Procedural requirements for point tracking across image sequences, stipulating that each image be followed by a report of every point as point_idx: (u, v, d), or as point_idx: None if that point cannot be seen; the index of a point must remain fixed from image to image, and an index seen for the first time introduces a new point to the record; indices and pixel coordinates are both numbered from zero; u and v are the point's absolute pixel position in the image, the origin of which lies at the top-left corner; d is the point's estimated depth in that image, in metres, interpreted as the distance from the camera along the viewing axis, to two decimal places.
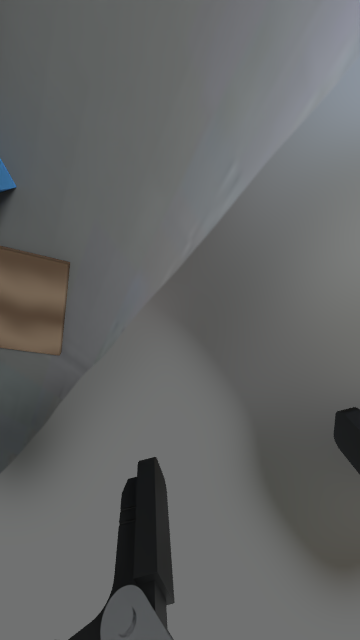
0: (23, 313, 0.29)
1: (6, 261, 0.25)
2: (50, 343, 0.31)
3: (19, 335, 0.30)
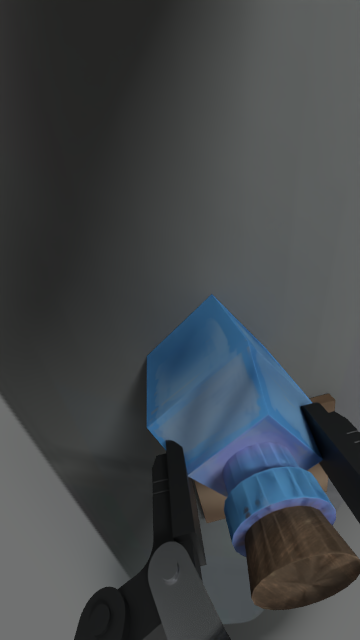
0: None
1: None
2: None
3: None
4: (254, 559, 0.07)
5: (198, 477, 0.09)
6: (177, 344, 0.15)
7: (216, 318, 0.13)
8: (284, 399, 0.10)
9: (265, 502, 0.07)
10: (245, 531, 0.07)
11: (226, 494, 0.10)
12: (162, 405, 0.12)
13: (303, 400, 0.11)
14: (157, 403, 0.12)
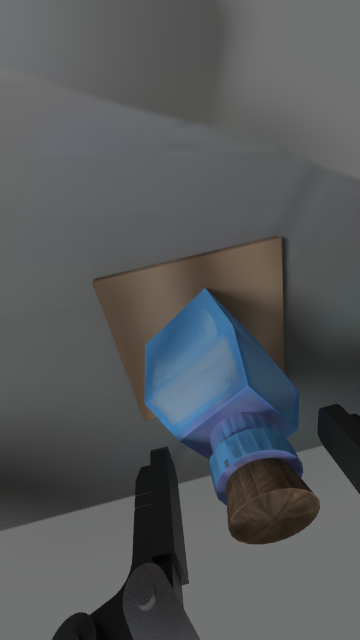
0: None
1: (135, 351, 0.19)
2: (257, 260, 0.17)
3: (253, 309, 0.18)
4: (231, 498, 0.08)
5: (188, 442, 0.11)
6: (172, 332, 0.16)
7: (207, 308, 0.15)
8: (264, 376, 0.11)
9: (242, 454, 0.09)
10: (226, 480, 0.09)
11: None
12: (158, 384, 0.13)
13: (284, 380, 0.13)
14: (154, 383, 0.14)
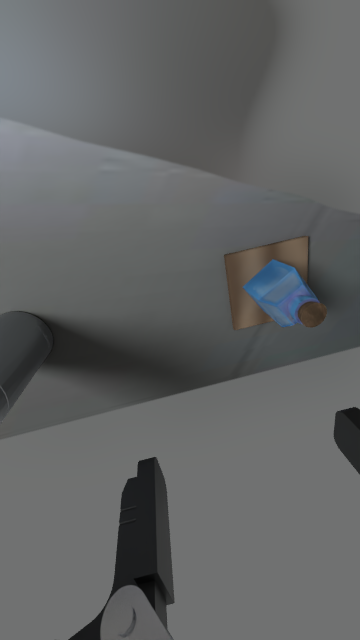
0: None
1: (237, 290, 0.39)
2: (297, 246, 0.37)
3: None
4: (301, 310, 0.29)
5: (280, 307, 0.32)
6: (260, 278, 0.37)
7: (278, 265, 0.35)
8: (306, 285, 0.32)
9: (303, 300, 0.29)
10: (298, 309, 0.30)
11: (287, 316, 0.32)
12: (262, 293, 0.34)
13: (311, 291, 0.34)
14: (259, 294, 0.34)
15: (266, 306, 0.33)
